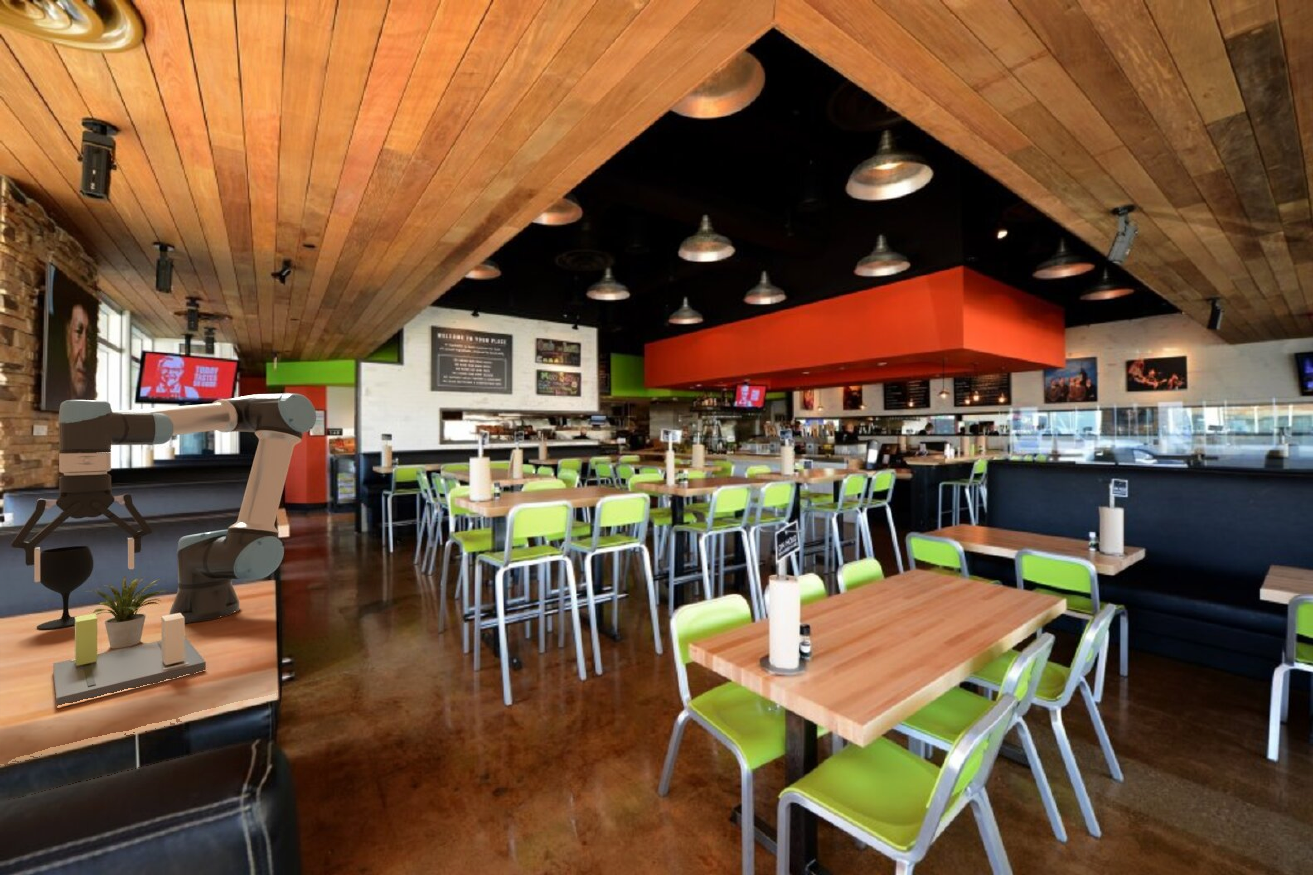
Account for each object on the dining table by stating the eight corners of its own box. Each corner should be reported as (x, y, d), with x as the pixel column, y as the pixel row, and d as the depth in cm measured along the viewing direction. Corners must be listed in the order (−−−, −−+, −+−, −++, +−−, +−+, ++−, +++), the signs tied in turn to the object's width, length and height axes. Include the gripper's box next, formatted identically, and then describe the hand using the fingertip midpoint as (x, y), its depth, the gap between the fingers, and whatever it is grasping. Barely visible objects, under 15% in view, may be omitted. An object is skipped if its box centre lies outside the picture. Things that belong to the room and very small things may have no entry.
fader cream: (180, 654, 117) (180, 612, 117) (184, 660, 113) (184, 617, 114) (161, 658, 114) (161, 616, 115) (165, 665, 111) (165, 621, 111)
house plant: (108, 660, 120) (108, 586, 120) (61, 655, 123) (61, 583, 123) (176, 637, 134) (176, 571, 134) (133, 633, 137) (133, 569, 137)
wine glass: (91, 614, 153) (91, 543, 153) (95, 622, 146) (95, 548, 146) (35, 624, 145) (35, 549, 145) (37, 632, 138) (37, 554, 138)
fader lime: (95, 655, 117) (95, 613, 117) (97, 661, 113) (97, 618, 114) (74, 659, 114) (74, 616, 115) (76, 665, 111) (76, 621, 111)
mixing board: (184, 643, 130) (184, 634, 130) (205, 671, 114) (205, 660, 114) (53, 672, 114) (53, 662, 114) (56, 708, 98) (56, 696, 98)
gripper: (-9, 477, 102) (-9, 590, 102) (167, 471, 121) (168, 565, 121) (-7, 476, 107) (-7, 583, 107) (162, 470, 126) (162, 561, 126)
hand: (86, 574), depth 114 cm, fingers open, 13 cm apart
